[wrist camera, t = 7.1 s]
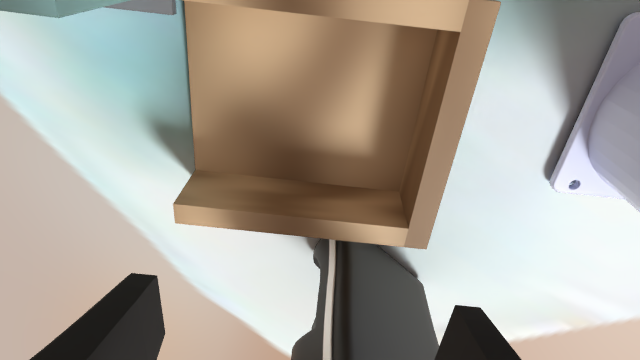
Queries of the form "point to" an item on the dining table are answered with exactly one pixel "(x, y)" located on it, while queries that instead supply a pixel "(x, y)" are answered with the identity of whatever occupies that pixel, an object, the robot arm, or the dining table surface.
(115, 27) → the dining table surface
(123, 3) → the coaster
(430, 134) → the crate
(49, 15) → the block
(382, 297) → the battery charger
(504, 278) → the dining table surface
